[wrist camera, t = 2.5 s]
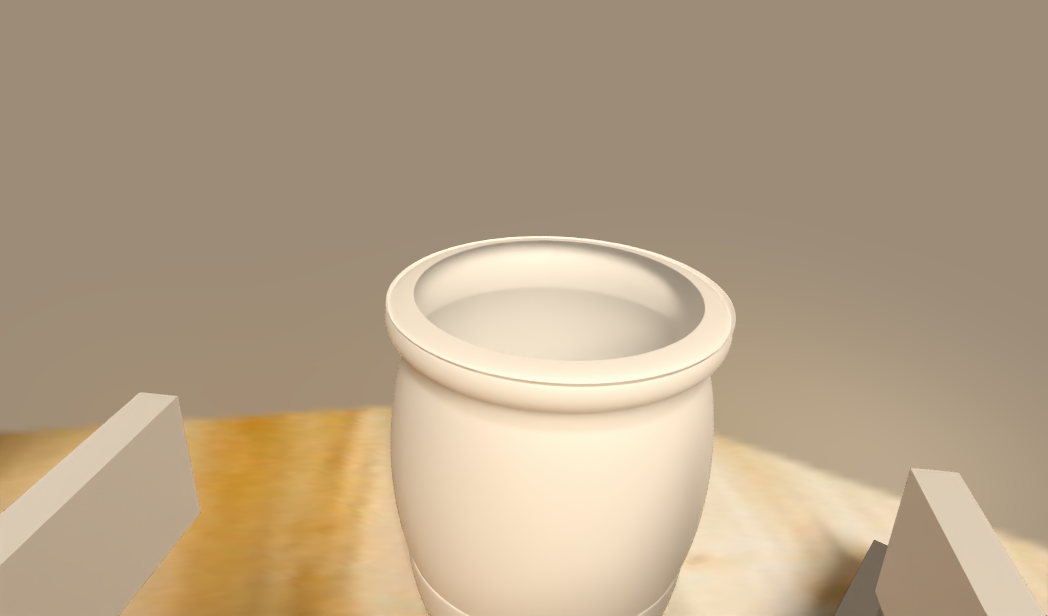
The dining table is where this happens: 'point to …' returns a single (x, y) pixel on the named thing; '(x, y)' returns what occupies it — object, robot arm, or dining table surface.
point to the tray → (865, 586)
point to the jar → (552, 424)
